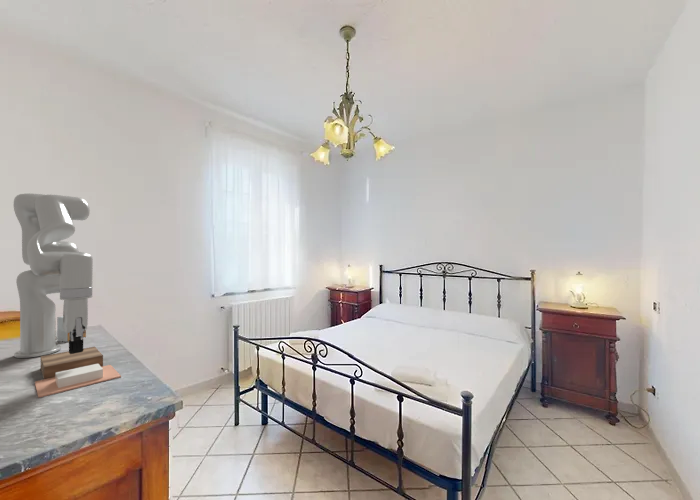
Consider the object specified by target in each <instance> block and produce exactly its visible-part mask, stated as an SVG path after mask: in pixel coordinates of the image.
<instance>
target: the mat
mask: <svg viewBox="0 0 700 500" xmlns="http://www.w3.org/2000/svg"><path fill="white" fill-rule="evenodd" d="M102 368H103V377H102V378H98V379H94V380H90V381H86V382H82V383H77V384H73V385H69V386H65V387H61V388H58V386H57V384H56V381H55V377H53V378H48V379H44V378H43V379H40V380H36V381H34V385H35V389H36V394H37V397H38V399H39V398H44V397H47V396H51V395H55V394H60V393H63V392H67V391H71V390H76V389H80V388H84V387H88V386H91V385H95V384H99V383H103V382H106V381H107V382H108V381H110V380H116V379H119V378H122V375H121V374H120V373H119V372H118V371H117V370H116V368H114V366H112V365H111V364H106V365H103V366H102Z"/></svg>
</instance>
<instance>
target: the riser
mask: <svg viewBox="0 0 700 500" xmlns="http://www.w3.org/2000/svg"><path fill="white" fill-rule="evenodd" d="M93 364H99V365H100V366H101V367H102V366H104V355H103V354H102V352H101V351H100V350H98V348H97V347H96V346H91V347H86V348H84V347H83V352H80V353H75V354H70V353H69V350H67V351H63V352H57V353H51V354H47V355H42V356H40V371H41V375H42V377H43V380H44V379H48V378H53V377H55V373H56V372H61V371H66V370H70V369H75V368H80V367H84V366H89V365H93Z"/></svg>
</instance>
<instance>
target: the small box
mask: <svg viewBox="0 0 700 500" xmlns="http://www.w3.org/2000/svg"><path fill="white" fill-rule="evenodd" d="M56 319H57V323H56V325H57V328H56V329H57V330H56V331H57V336H56V337H57V340H56V341H57V342H62V341H63V342H65V343H67V342H68V343H69V340H70V335H69V333H66V332H65V331H64V329H63V315H61V316H58V317H57V318H56ZM83 337H85V338H86V337H87V330H85V331H84V330H83ZM63 342H62V343H63Z"/></svg>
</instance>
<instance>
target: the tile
mask: <svg viewBox="0 0 700 500" xmlns="http://www.w3.org/2000/svg"><path fill="white" fill-rule="evenodd" d="M102 377H103V368H102V367H101V366H100V365H99V364H93V365H89V366H84V367H80V368H75V369H70V370H66V371H61V372H56V373H55V381H56V384H57V386H58V388H61V387H65V386H69V385H73V384H77V383H82V382H86V381H90V380H94V379H98V378H102Z"/></svg>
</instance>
